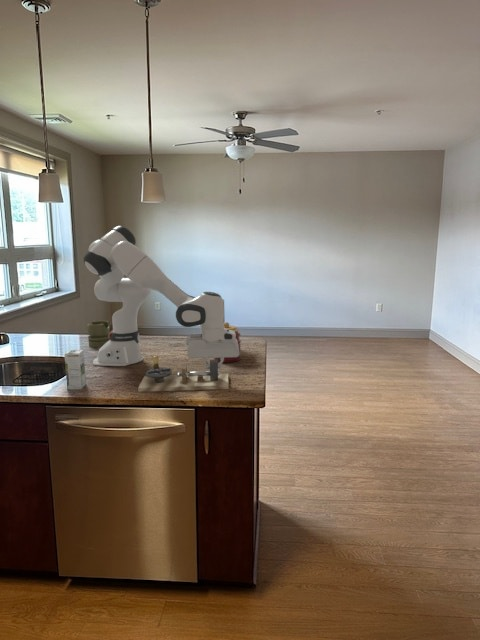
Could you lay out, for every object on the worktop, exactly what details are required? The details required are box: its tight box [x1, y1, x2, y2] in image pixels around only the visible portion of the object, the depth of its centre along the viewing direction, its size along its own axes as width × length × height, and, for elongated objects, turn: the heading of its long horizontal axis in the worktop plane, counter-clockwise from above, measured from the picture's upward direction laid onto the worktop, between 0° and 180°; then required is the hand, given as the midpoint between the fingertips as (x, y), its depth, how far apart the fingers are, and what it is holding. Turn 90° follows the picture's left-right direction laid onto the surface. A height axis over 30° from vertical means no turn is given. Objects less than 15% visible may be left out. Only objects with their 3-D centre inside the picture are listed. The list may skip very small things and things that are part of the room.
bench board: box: [137, 373, 229, 393], centre depth 168 cm, size 34×14×4 cm, turn 92°
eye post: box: [181, 362, 188, 384], centre depth 168 cm, size 1×7×6 cm, turn 2°
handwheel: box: [145, 355, 173, 378], centre depth 167 cm, size 10×10×6 cm
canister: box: [213, 321, 242, 363], centre depth 200 cm, size 13×13×18 cm
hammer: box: [176, 359, 221, 381], centre depth 168 cm, size 17×4×7 cm, turn 92°
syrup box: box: [64, 349, 87, 391], centre depth 166 cm, size 6×6×14 cm
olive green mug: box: [86, 320, 111, 348], centre depth 232 cm, size 11×12×11 cm
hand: (213, 368), depth 168 cm, fingers closed on hammer, 3 cm apart
